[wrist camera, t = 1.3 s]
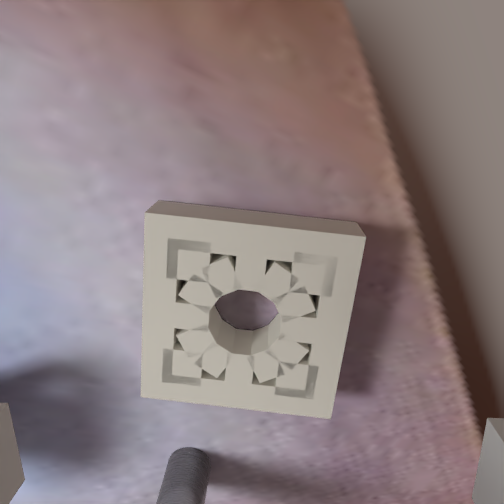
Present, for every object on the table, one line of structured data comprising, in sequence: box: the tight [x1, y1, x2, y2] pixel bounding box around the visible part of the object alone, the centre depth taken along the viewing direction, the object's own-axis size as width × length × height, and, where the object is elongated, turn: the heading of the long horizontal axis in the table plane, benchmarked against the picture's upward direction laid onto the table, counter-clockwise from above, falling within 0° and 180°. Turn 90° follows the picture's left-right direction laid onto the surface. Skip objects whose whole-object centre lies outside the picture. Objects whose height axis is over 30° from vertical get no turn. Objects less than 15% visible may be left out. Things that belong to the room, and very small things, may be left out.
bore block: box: [141, 200, 366, 419], centre depth 27 cm, size 12×12×3 cm
